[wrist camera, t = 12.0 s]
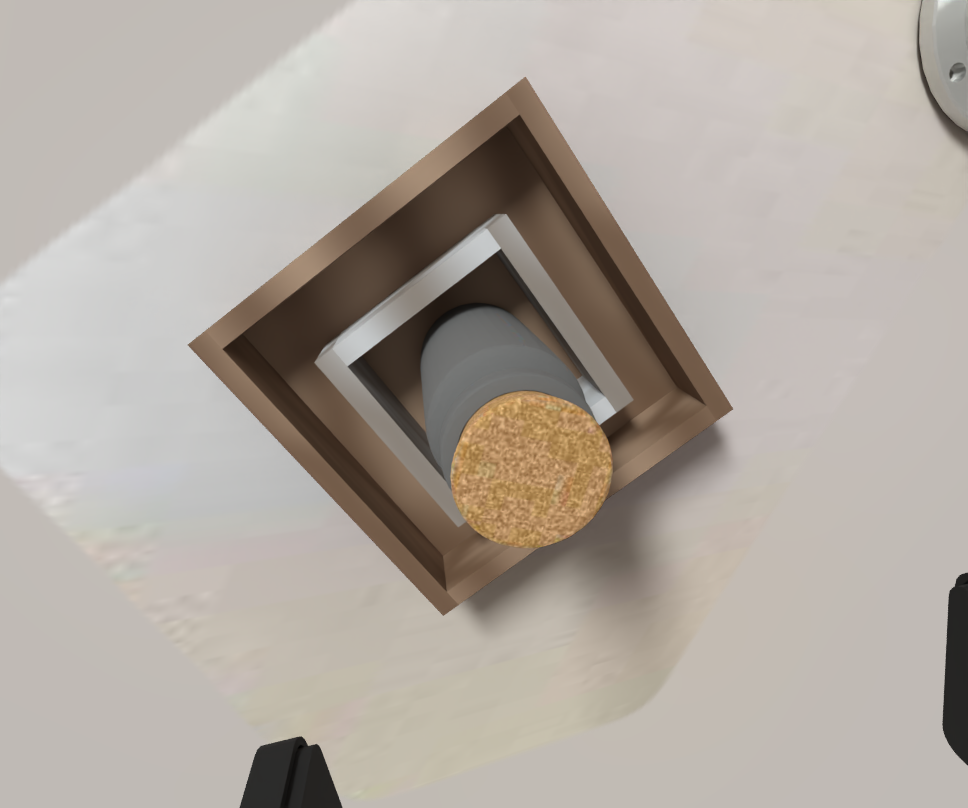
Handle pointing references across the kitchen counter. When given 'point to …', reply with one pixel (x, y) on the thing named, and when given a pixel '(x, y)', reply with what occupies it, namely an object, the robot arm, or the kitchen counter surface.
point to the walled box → (427, 296)
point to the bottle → (511, 429)
